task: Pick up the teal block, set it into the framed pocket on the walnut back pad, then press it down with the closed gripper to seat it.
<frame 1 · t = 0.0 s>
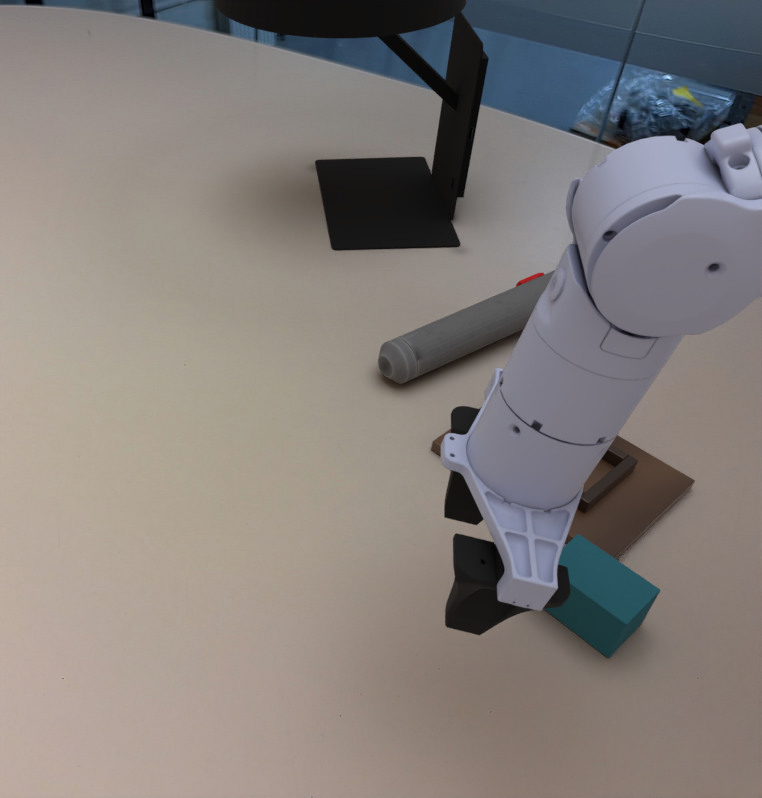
hand: (461, 568, 47), 10 cm above the table, tool pointing down, fingers open, 7 cm apart
flashlight: (498, 335, 79), on the table
back pad: (556, 468, 65), on the table
teal block: (585, 611, 56), on the table
table lamp: (337, 203, 99), on the table
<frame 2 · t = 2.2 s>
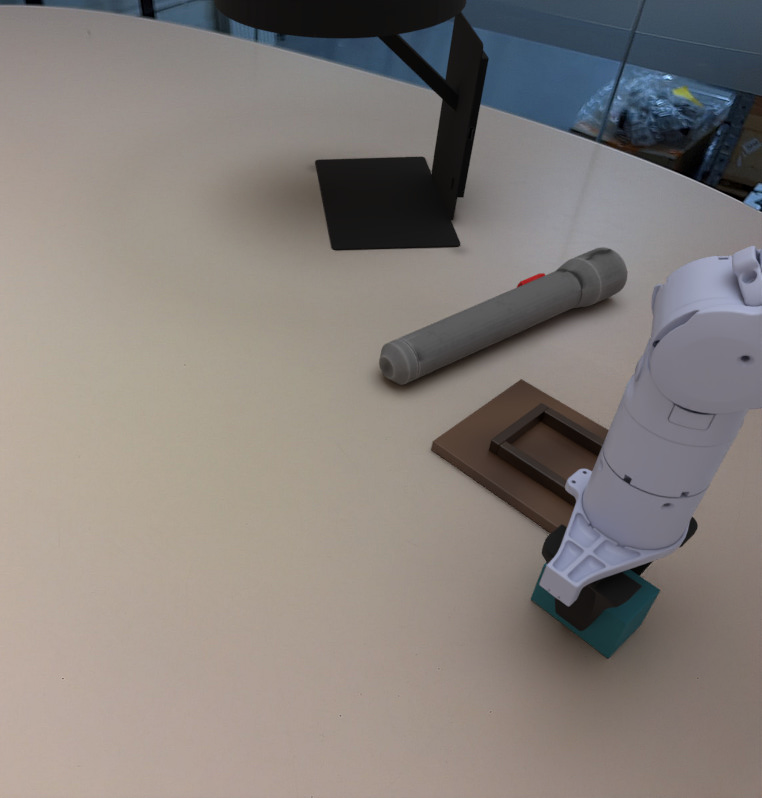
hand: (590, 599, 55), 1 cm above the table, tool pointing down, fingers closed on teal block, 4 cm apart
teal block: (584, 611, 56), on the table, touching gripper
everything else where it was.
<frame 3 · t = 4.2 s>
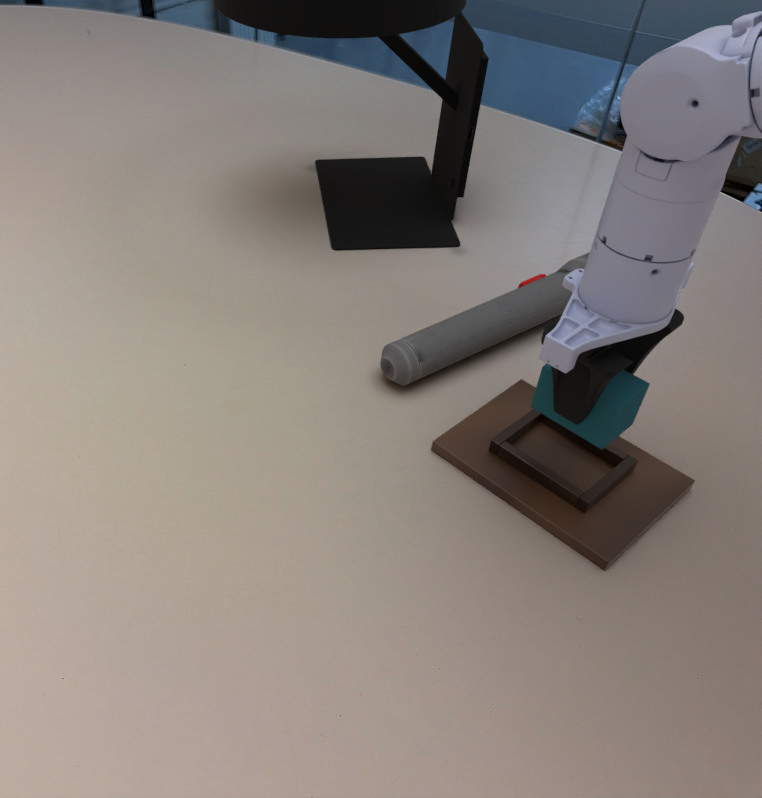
hand: (586, 401, 59), 8 cm above the table, tool pointing down, fingers closed on teal block, 4 cm apart
teal block: (580, 415, 60), point 7 cm above the table, touching gripper
everything else where it was.
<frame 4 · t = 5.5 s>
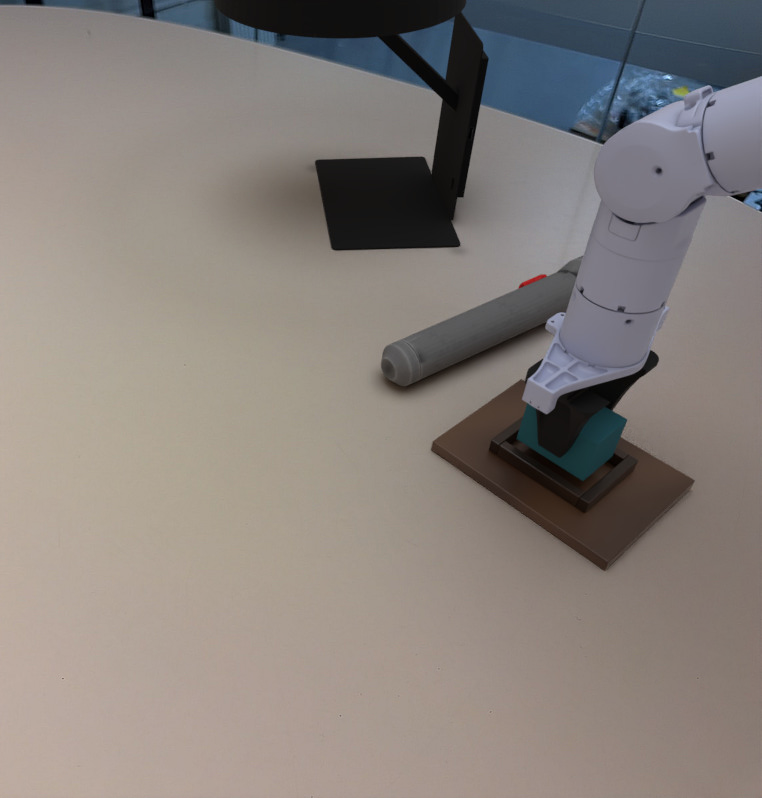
hand: (568, 435, 63), 4 cm above the table, tool pointing down, fingers closed on teal block, 4 cm apart
teal block: (563, 447, 64), point 2 cm above the table, touching gripper
everything else where it was.
when the fingers open (2 cm above the table, at t = 6.3 s): teal block stays where it is, resting on back pad.
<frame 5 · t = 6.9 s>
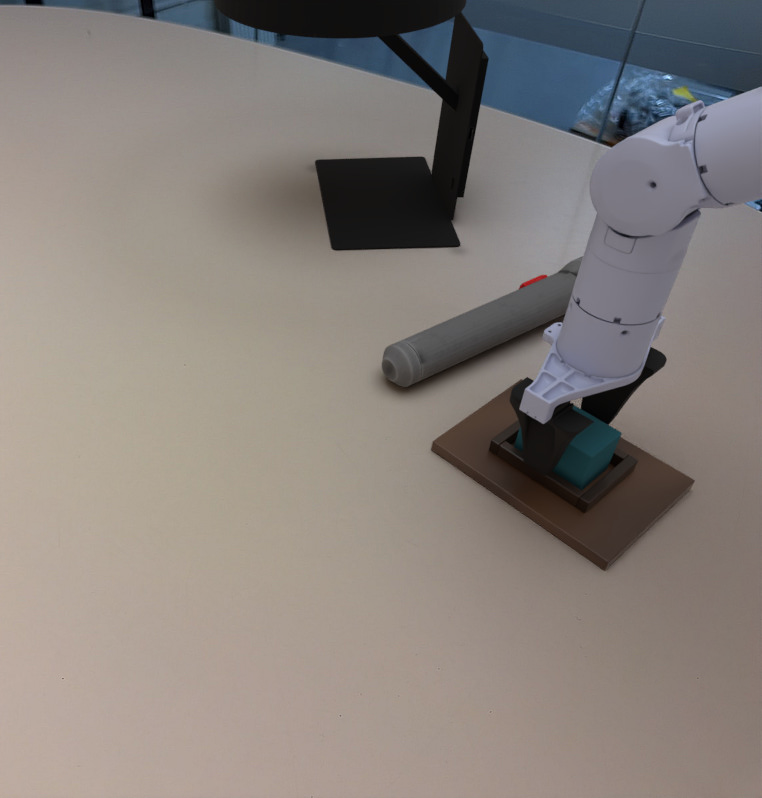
hand: (566, 443, 63), 3 cm above the table, tool pointing down, fingers open, 7 cm apart
teal block: (559, 459, 65), point 1 cm above the table, touching back pad
everything else where it was.
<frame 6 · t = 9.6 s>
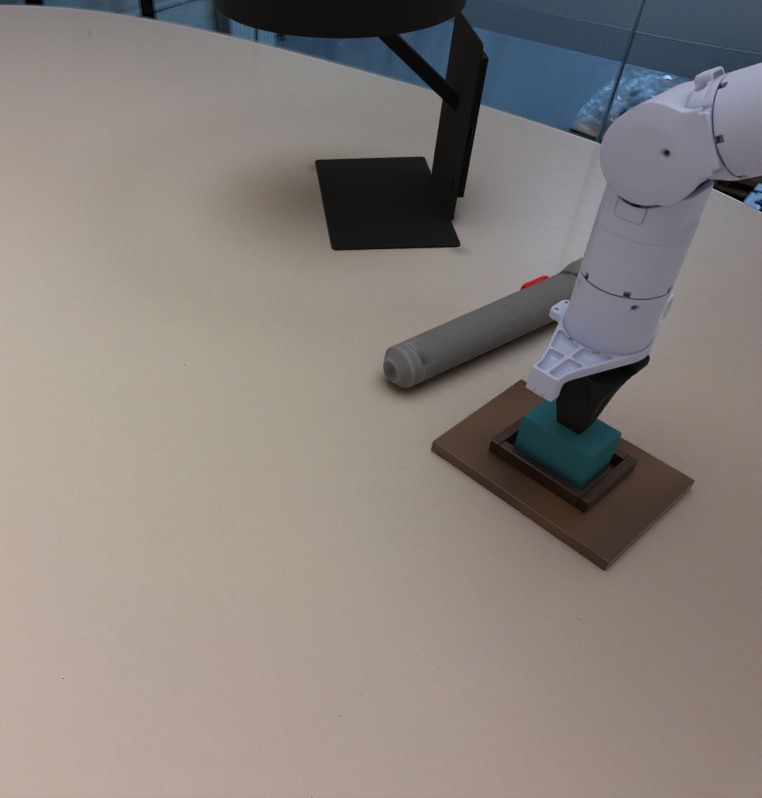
hand: (572, 424, 62), 5 cm above the table, tool pointing down, fingers closed, pressing on teal block
teal block: (559, 460, 65), point 1 cm above the table, touching back pad, gripper
everything else where it was.
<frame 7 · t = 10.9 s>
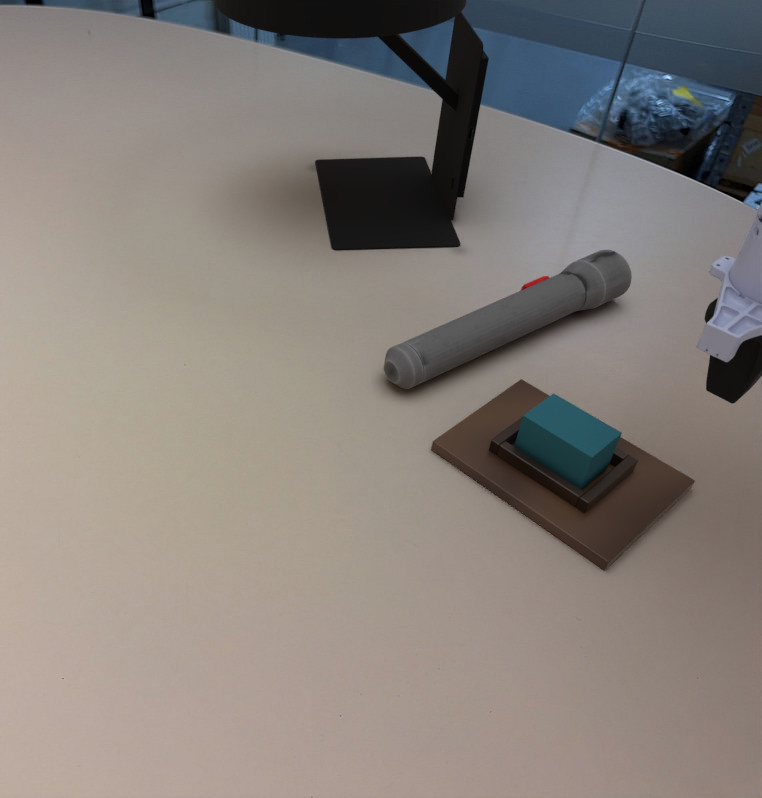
hand: (723, 392, 58), 9 cm above the table, tool pointing down, fingers closed
teal block: (559, 459, 65), point 1 cm above the table, touching back pad
everything else where it was.
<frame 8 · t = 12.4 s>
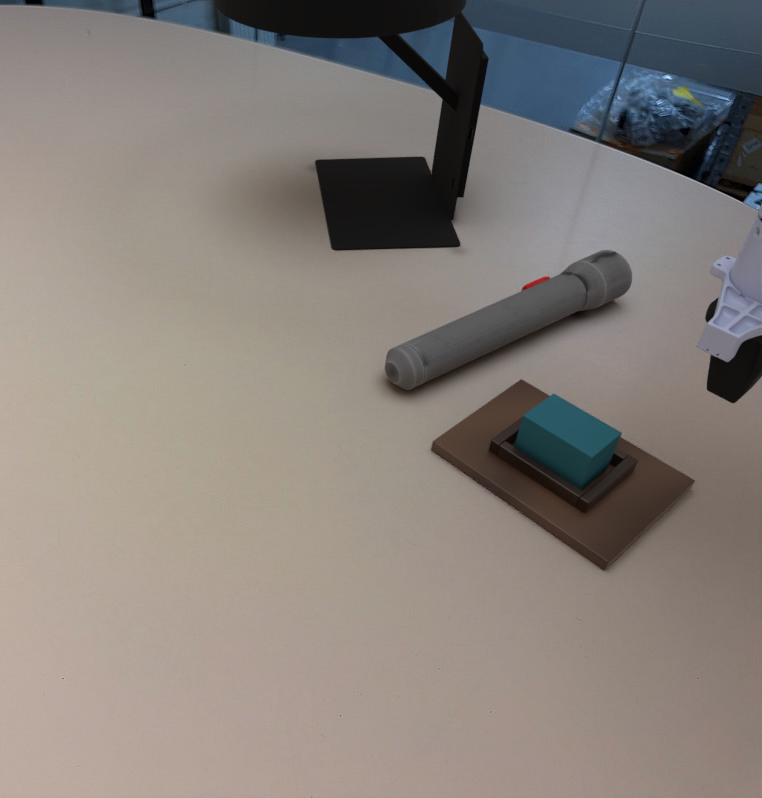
hand: (724, 392, 58), 9 cm above the table, tool pointing down, fingers closed
nothing on the table moved.
at the end: teal block 0.0 cm off-centre on the back pad, point 1.0 cm above the back pad's base; teal block tilted 0°; the gripper is holding nothing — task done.
